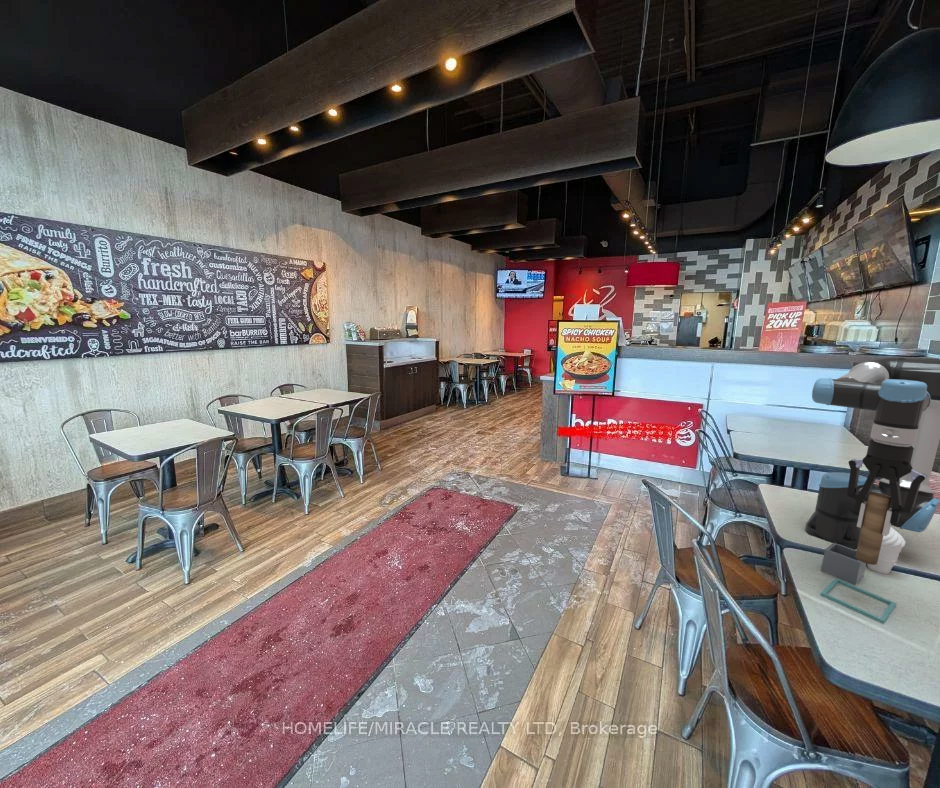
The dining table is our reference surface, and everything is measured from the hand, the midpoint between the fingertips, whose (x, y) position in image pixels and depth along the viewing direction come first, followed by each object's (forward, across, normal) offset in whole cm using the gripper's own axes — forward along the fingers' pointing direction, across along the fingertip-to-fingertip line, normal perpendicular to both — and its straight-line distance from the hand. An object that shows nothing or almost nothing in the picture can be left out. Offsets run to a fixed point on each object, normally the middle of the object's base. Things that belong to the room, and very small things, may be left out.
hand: (872, 529), depth 99 cm
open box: (+21, -6, +12) cm, 25 cm away
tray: (+22, 0, 0) cm, 22 cm away
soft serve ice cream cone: (+22, -1, +25) cm, 33 cm away
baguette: (+9, 0, 0) cm, 9 cm away
